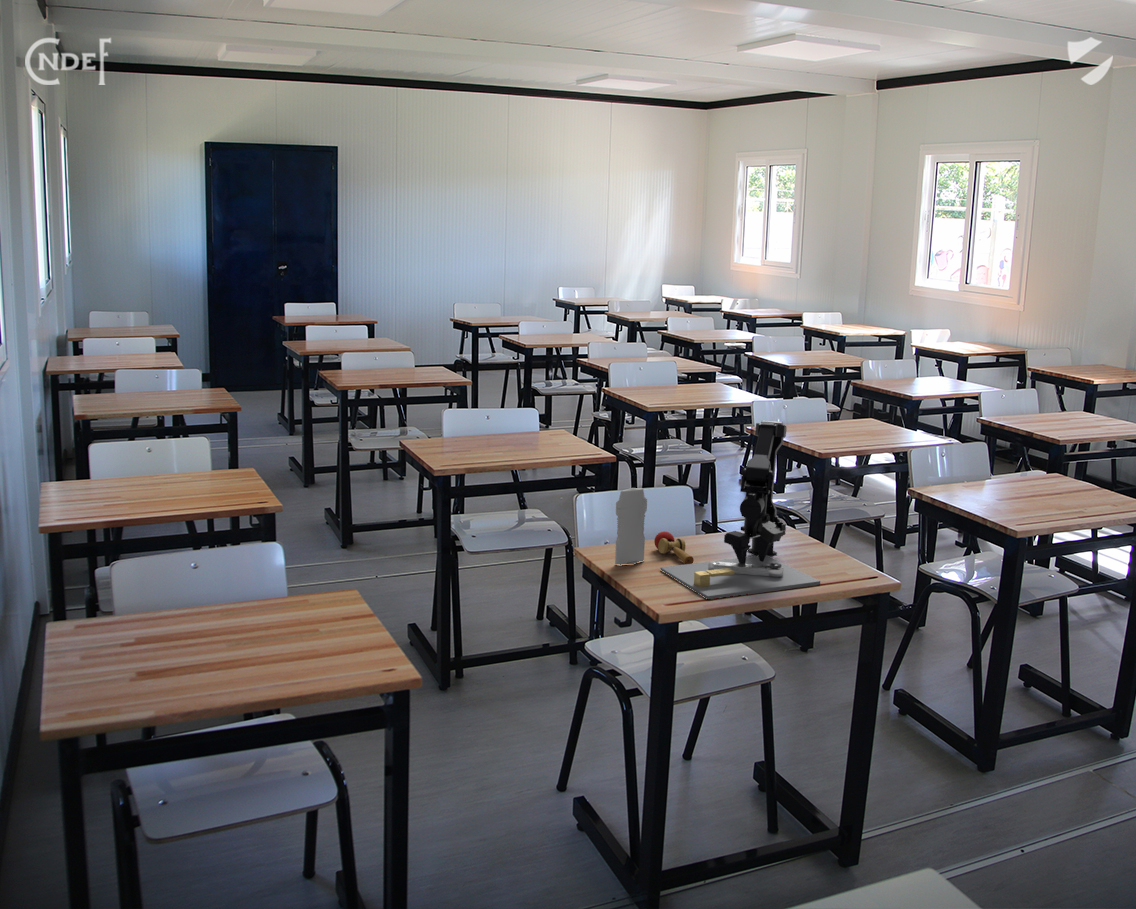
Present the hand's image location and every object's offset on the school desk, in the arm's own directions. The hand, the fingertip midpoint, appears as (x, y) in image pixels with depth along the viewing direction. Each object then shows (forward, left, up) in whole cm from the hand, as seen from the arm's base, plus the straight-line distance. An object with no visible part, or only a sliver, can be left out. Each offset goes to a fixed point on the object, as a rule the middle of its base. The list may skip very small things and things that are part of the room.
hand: (752, 564), depth 264 cm
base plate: (+4, -7, -2) cm, 8 cm away
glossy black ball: (+8, +2, +1) cm, 9 cm away
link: (+4, -5, -1) cm, 6 cm away
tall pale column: (-18, -29, -2) cm, 34 cm away
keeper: (+8, -17, -1) cm, 19 cm away
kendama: (-19, -14, -2) cm, 24 cm away
